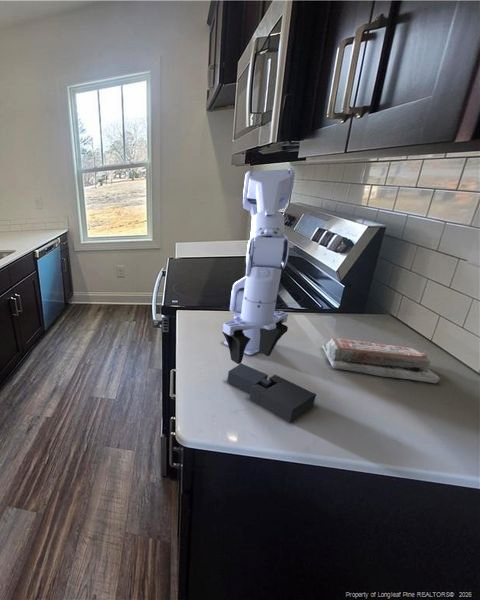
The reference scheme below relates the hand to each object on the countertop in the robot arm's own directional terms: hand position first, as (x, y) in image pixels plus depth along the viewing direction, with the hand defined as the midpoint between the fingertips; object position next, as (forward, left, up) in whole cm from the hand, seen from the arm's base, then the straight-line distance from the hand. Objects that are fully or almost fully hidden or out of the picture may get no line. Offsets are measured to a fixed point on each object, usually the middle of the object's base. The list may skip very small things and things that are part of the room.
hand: (250, 357), depth 67 cm
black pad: (0, +8, -7) cm, 10 cm away
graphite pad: (0, 0, -7) cm, 7 cm away
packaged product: (-30, +12, -7) cm, 33 cm away
